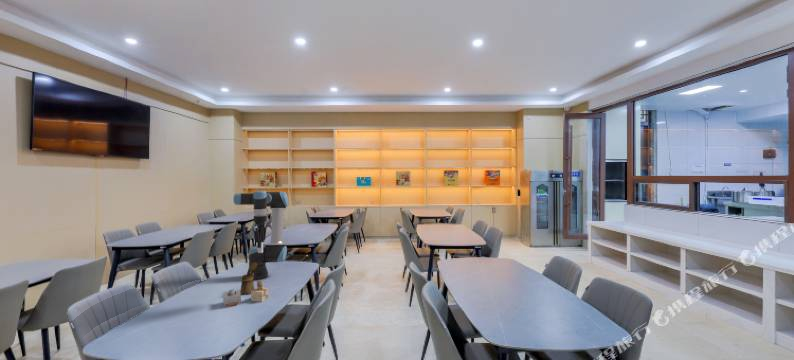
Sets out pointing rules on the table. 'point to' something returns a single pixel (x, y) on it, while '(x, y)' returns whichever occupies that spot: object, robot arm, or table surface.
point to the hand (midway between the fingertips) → (260, 252)
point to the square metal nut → (231, 297)
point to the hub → (232, 292)
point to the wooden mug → (248, 280)
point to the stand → (259, 293)
